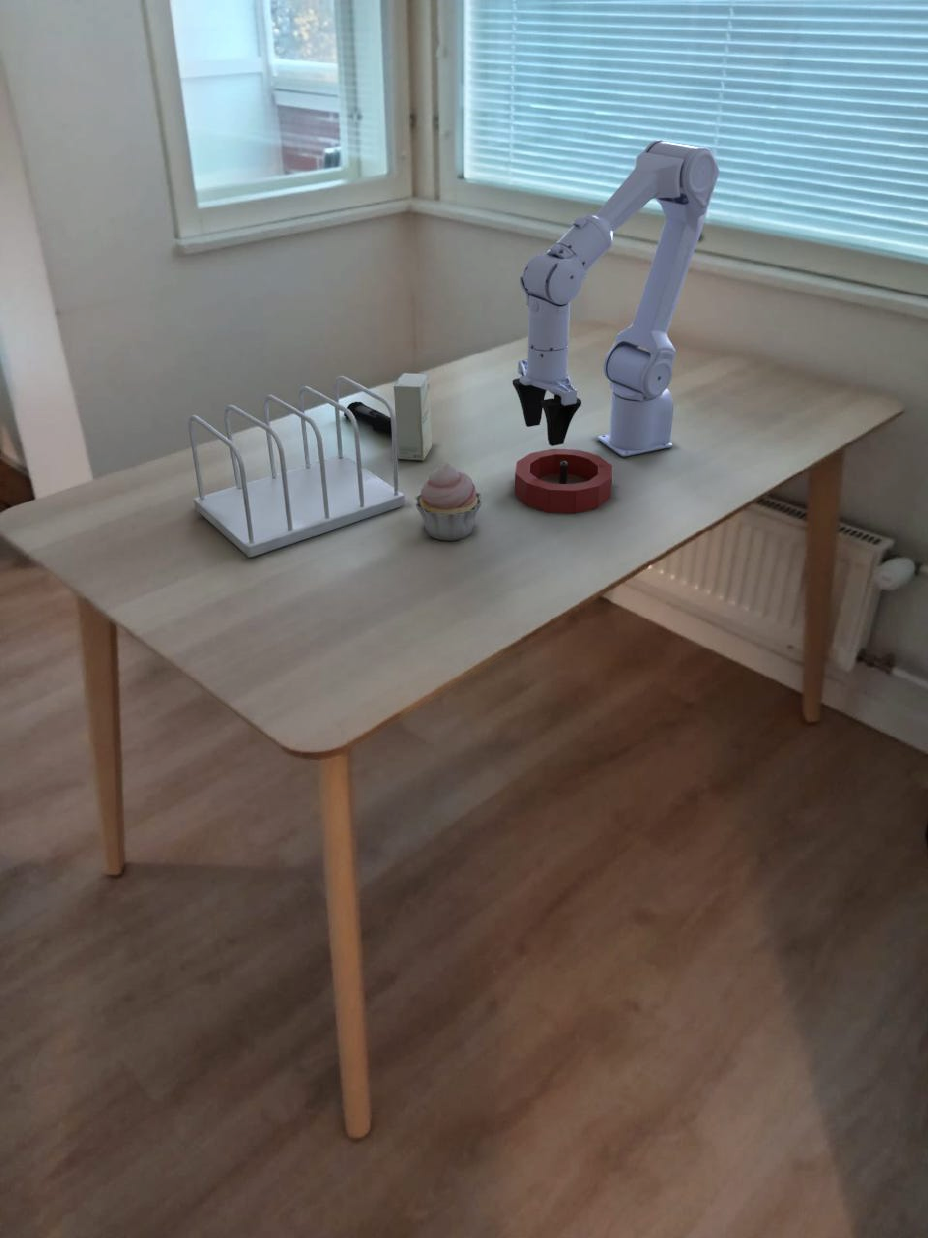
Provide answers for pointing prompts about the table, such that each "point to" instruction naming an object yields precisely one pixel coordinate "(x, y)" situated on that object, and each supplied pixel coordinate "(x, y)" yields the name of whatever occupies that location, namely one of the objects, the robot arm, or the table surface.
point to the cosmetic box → (413, 416)
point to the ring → (563, 495)
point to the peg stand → (563, 476)
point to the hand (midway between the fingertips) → (544, 434)
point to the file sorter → (296, 485)
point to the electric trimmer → (370, 417)
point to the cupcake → (448, 504)
